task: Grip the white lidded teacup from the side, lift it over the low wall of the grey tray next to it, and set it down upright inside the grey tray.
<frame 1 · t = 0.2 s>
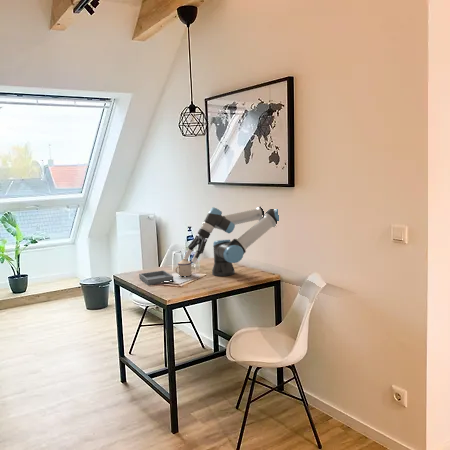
hand: (189, 260, 295), 15 cm above the table, tool tilted 35°, fingers open, 13 cm apart
grey tray: (156, 280, 311), on the table
teacup with lid: (183, 276, 319), on the table
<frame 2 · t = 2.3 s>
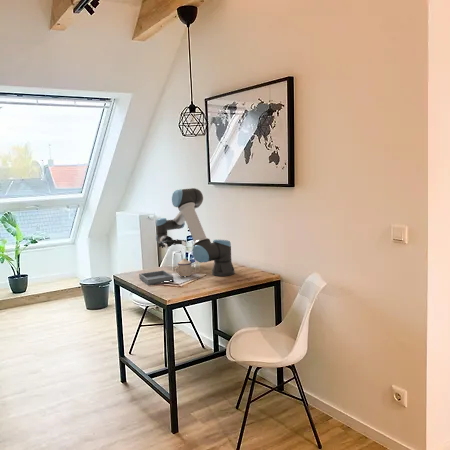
hand: (176, 245, 326), 19 cm above the table, tool horizontal, fingers open, 13 cm apart
nothing on the table moved.
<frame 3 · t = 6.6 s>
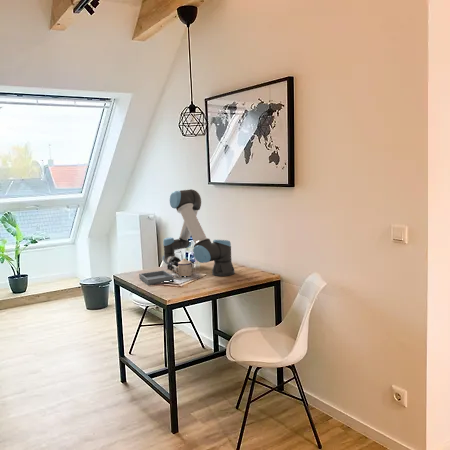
hand: (184, 267, 315), 7 cm above the table, tool horizontal, fingers closed on teacup with lid, 12 cm apart
teacup with lid: (183, 276, 319), on the table, touching gripper
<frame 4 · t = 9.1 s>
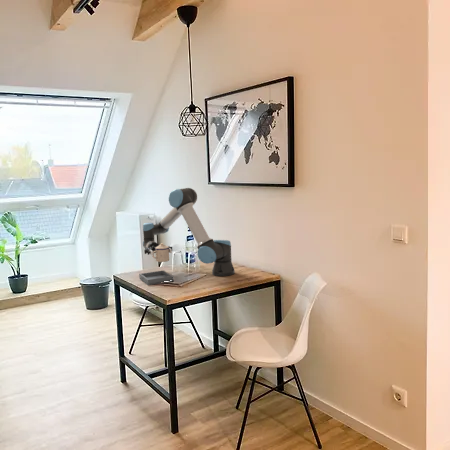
hand: (161, 252, 309), 18 cm above the table, tool horizontal, fingers closed on teacup with lid, 12 cm apart
teacup with lid: (160, 261, 313), point 12 cm above the table, touching gripper
when the fingers open (9 cm above the table, at t = 11.7 s): teacup with lid drops 2 cm, resting on grey tray.
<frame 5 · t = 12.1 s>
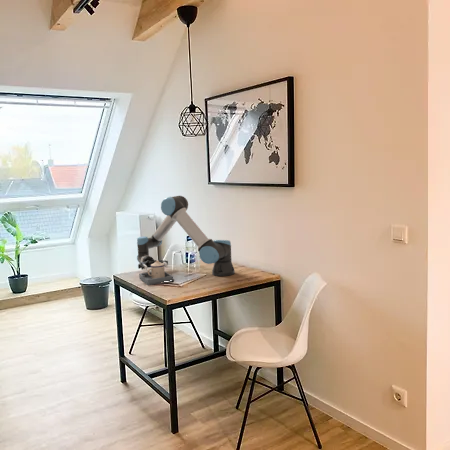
hand: (156, 266, 307), 9 cm above the table, tool horizontal, fingers open, 13 cm apart
teacup with lid: (156, 278, 311), point 1 cm above the table, touching grey tray
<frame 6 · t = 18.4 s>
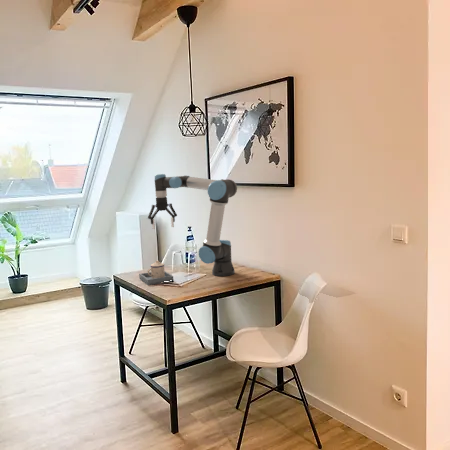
hand: (163, 227, 326), 32 cm above the table, tool pointing down, fingers open, 13 cm apart
nothing on the table moved.
at the end: teacup with lid inside the target area on the grey tray (0.2 cm from its centre), point 0.8 cm above the grey tray's base; teacup with lid tilted 0°; the gripper is holding nothing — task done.
